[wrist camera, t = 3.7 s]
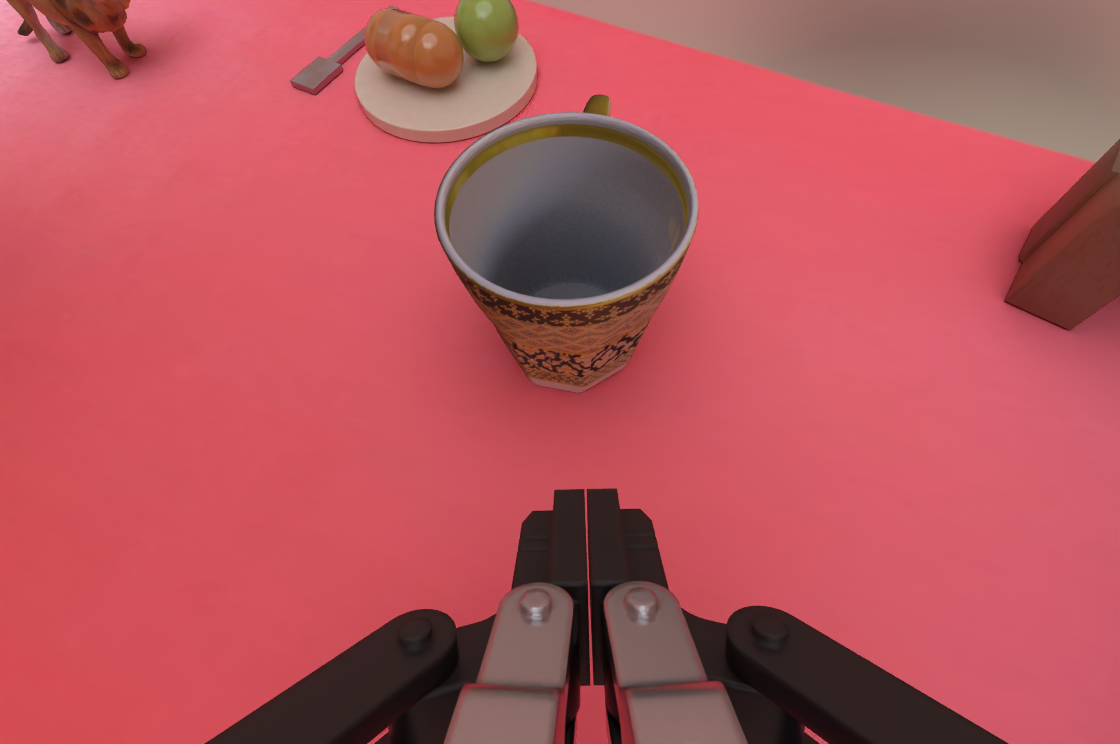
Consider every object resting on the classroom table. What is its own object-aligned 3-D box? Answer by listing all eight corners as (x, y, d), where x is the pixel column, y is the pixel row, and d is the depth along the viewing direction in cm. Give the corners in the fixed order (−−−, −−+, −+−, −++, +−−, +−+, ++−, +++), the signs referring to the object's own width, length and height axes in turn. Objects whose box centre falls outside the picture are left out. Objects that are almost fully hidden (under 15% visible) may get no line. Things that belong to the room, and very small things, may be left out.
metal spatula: (315, 95, 41) (312, 88, 40) (292, 86, 41) (289, 80, 41) (407, 15, 45) (405, 8, 45) (385, 8, 46) (383, 2, 45)
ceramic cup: (649, 441, 27) (681, 328, 18) (453, 402, 28) (394, 280, 20) (683, 238, 33) (718, 79, 24) (518, 214, 34) (496, 56, 26)
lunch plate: (321, 108, 40) (286, 31, 35) (428, 13, 45) (410, -65, 40) (473, 166, 36) (456, 90, 32) (569, 56, 42) (568, -23, 37)
